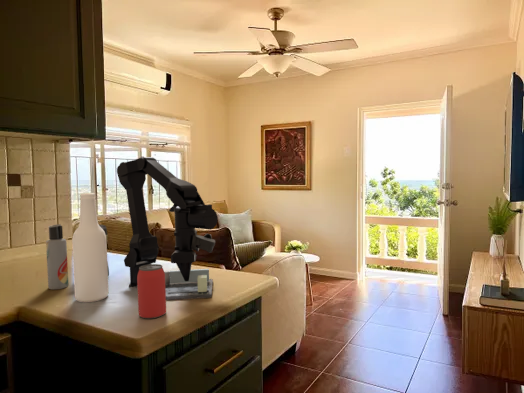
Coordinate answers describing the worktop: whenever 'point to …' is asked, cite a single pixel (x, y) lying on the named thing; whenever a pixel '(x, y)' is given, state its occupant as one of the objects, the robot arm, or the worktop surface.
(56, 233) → the lotion bottle
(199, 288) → the fader knob
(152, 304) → the beer can
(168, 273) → the door
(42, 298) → the worktop surface
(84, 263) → the alcohol
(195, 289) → the console
